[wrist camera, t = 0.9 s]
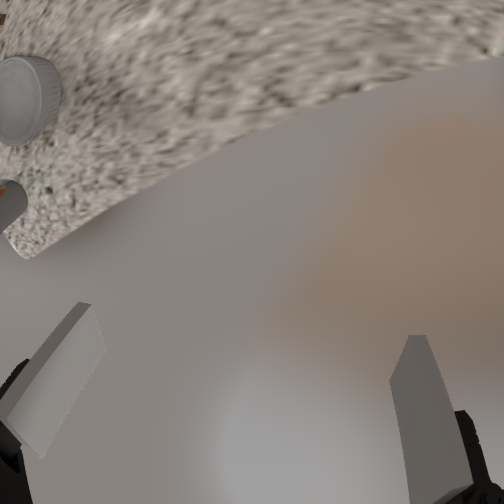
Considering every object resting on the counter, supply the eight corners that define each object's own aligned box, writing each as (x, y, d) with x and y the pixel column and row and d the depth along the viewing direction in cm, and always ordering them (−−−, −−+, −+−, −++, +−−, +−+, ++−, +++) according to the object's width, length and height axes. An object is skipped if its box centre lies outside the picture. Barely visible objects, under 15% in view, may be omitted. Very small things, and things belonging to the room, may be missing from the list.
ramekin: (75, 51, 26) (45, 56, 21) (66, 138, 32) (39, 154, 28) (15, 50, 25) (-14, 57, 21) (10, 126, 31) (-15, 140, 27)
